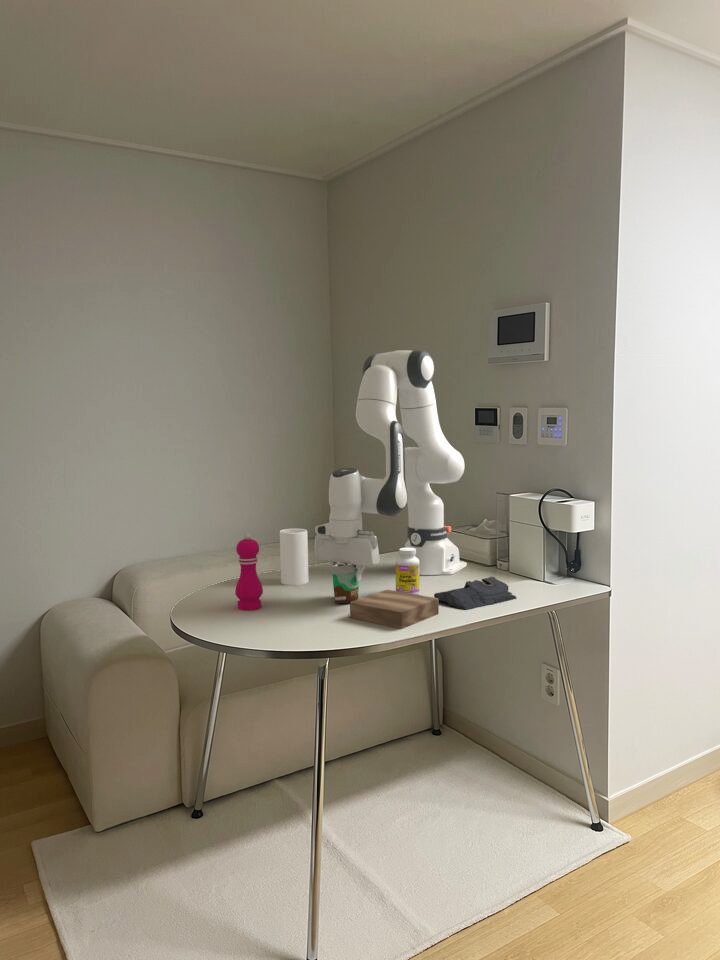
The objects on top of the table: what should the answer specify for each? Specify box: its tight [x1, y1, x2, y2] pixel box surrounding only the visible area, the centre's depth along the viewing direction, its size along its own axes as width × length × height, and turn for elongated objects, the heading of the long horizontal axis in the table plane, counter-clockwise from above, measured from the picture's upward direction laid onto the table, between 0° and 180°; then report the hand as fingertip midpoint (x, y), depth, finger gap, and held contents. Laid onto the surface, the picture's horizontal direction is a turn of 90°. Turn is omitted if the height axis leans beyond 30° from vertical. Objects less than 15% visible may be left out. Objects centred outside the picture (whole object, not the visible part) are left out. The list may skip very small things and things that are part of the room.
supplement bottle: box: [395, 547, 420, 595], centre depth 216 cm, size 7×7×13 cm
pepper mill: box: [234, 532, 264, 611], centre depth 204 cm, size 7×7×20 cm
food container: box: [331, 563, 360, 604], centre depth 209 cm, size 12×6×10 cm, turn 164°
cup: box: [279, 527, 309, 586], centre depth 231 cm, size 8×8×16 cm
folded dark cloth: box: [433, 576, 517, 611], centre depth 211 cm, size 15×22×5 cm
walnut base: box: [349, 589, 440, 630], centre depth 195 cm, size 16×16×4 cm
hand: (347, 578), depth 210 cm, fingers closed on food container, 6 cm apart
